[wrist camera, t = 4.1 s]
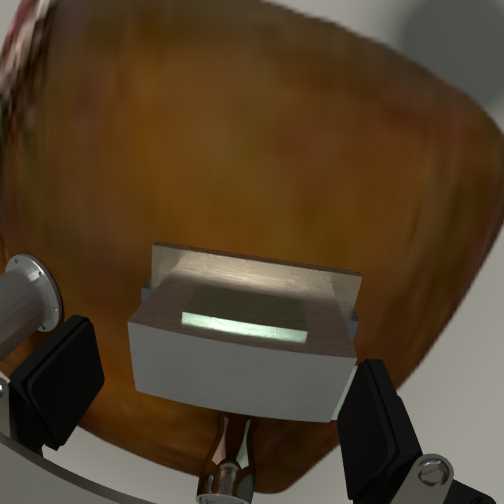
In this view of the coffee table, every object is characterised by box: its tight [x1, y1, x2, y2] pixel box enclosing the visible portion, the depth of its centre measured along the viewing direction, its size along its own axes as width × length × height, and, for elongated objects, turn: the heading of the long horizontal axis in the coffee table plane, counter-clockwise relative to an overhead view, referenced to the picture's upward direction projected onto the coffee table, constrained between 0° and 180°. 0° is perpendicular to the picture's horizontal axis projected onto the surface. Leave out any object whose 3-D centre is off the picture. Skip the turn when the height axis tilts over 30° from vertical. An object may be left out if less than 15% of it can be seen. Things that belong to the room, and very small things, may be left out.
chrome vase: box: [196, 411, 258, 504], centre depth 32 cm, size 7×7×15 cm
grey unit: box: [128, 241, 362, 422], centre depth 26 cm, size 22×10×14 cm, turn 83°
